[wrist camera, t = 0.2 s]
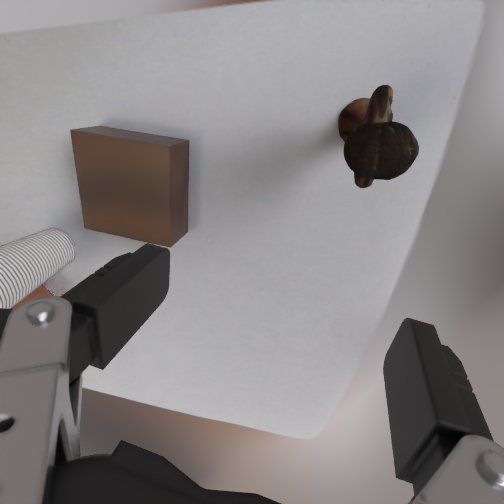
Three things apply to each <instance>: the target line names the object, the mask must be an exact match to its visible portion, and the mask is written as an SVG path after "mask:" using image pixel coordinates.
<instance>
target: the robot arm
mask: <svg viewBox="0 0 504 504" xmlns="http://www.w3.org/2000/svg"><path fill="white" fill-rule="evenodd" d="M169 272H170V251H169V250H168V249H167V248H163V247H160V246H156V245H153V244H149V243H147V244H145V245H143V246H142V247H141V248H139V249H138V250H137V251H135V252H134V253H130V252H129V253H127V254H124V255H121V256H118V257H115V258H114V259H112V260H111V261H110V262H108V263H107V264H105V265H104V267H101V268H100V269H98V270H97V271H96V272H95V274H91V275H90V276H89V277H87V278H86V279H84V280H83V281H82V282H80V283H79V284H78V285H76V286H75V287H73V288H72V289H71V290H69V291H68V292H66V293H65V294H64V295H62V296H61V297H55V296H44V297H38V298H34V299H31V300H28V301H26V302H24V303H22V304H20V305H18V306H17V307H16V308H14V309H4V308H0V504H281V503H278V502H276V501H273V500H271V499H268V498H266V497H263V496H261V495H258V494H254V493H242V492H231V491H218V490H207V489H204V488H202V487H200V486H199V485H198V484H196V483H195V482H194V481H192V480H191V479H190V478H189V477H188V476H186V475H185V474H184V473H183V472H181V471H180V470H179V469H178V468H177V467H175V466H174V465H173V464H172V463H170V462H169V461H168V460H167V459H165V458H164V457H163V456H160V455H158V454H155V453H153V452H150V451H148V450H145V449H143V448H140V447H138V446H135V445H133V444H130V443H127V442H125V441H122V440H121V441H120V443H119V444H118V446H117V447H116V449H115V450H114V452H113V453H112V454H95V455H89V456H84V457H80V445H79V432H80V431H79V430H80V414H81V397H82V379H83V378H82V372H83V371H84V370H85V369H86V368H87V367H88V366H89V365H91V366H94V367H97V368H99V369H102V370H103V369H104V368H105V367H106V366H107V365H108V364H109V362H110V361H111V360H112V359H113V358H114V357H115V356H116V354H117V353H118V352H119V351H120V350H121V349H122V348H123V346H124V345H125V344H126V343H127V342H128V341H129V340H130V339H131V337H132V336H133V335H134V334H135V333H136V332H137V331H138V329H139V328H140V327H141V326H142V325H143V324H144V323H145V321H146V320H147V319H148V318H149V317H150V316H151V315H152V313H153V312H154V311H155V310H156V309H157V308H158V307H159V305H160V304H161V303H162V302H163V301H164V299H165V297H166V295H167V292H168V289H169ZM383 373H384V381H385V390H386V398H387V406H388V414H389V423H390V431H391V439H392V448H393V456H394V465H395V473H396V478H398V479H401V480H404V481H406V482H409V483H412V484H413V488H414V496H413V498H412V499H411V500H410V502H409V503H408V504H504V448H503V447H501V446H500V445H498V444H497V443H495V442H494V440H493V438H492V436H491V433H490V431H489V429H488V426H487V423H486V421H485V419H484V416H483V414H482V411H481V409H480V406H479V404H478V402H477V399H476V397H475V394H474V393H472V390H473V389H472V387H471V384H470V382H469V380H467V375H466V372H465V370H464V367H463V365H462V362H461V361H460V360H459V358H458V357H457V356H456V355H455V354H454V353H453V351H452V350H451V349H450V348H449V347H448V346H444V345H441V343H440V340H439V337H438V334H437V331H436V329H435V327H434V325H431V324H428V323H424V322H421V321H417V320H414V319H410V318H406V319H404V321H403V322H402V324H401V326H400V328H399V330H398V332H397V334H396V336H395V338H394V340H393V342H392V344H391V346H390V348H389V350H388V351H387V354H386V357H385V361H384V368H383Z"/></svg>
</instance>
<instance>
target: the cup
mask: <svg viewBox="0 0 504 504" xmlns="http://www.w3.org/2000/svg"><path fill="white" fill-rule="evenodd" d="M75 252H76V251H75V247H74V244H73V242H72V241H71V239H70V238H69V237H68V236H67V235H66V234H65V233H64V232H62V231H60V230H58V229H52V228H50V229H47V230H44V231H41V232H38V233H36V234H33V235H30V236H27V237H24V238H21V239H18V240H16V241H13V242H10V243H7V244H4V245H1V246H0V308H4V309H10V308H12V307H13V306H14V305H16V304H17V303H18V302H20V301H21V300H22V299H23V298H25V297H26V296H27V295H29V294H30V293H31V292H33V291H34V290H35V289H36V288H38V287H39V286H40V285H42V284H43V283H44V282H46V281H47V280H48V279H49V278H51V277H52V276H53V275H55V274H56V273H57V272H58V271H60V270H61V269H62V268H64V267H65V266H66V265H68V264H69V263H70V262H71V261H72V260H73V259H74V258H75Z"/></svg>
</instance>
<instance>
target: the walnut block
mask: <svg viewBox="0 0 504 504" xmlns="http://www.w3.org/2000/svg"><path fill="white" fill-rule="evenodd" d="M70 131H71V138H72V145H73V152H74V159H75V165H76V172H77V179H78V186H79V193H80V200H81V206H82V213H83V220H84V227H85V228H86V229H90V230H95V231H99V232H104V233H108V234H113V235H117V236H122V237H126V238H131V239H135V240H139V241H144V242H148V243H153V244H157V245H162V246H166V247H172V246H173V245H174V244H175V243H176V242H177V241H178V240H179V239H181V238H182V237H183V236H184V235H185V234H186V233H187V232H188V180H189V140H184V139H178V138H172V137H165V136H159V135H153V134H147V133H141V132H135V131H128V130H122V129H116V128H110V127H104V126H95V127H87V128H80V129H72V130H70Z"/></svg>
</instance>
